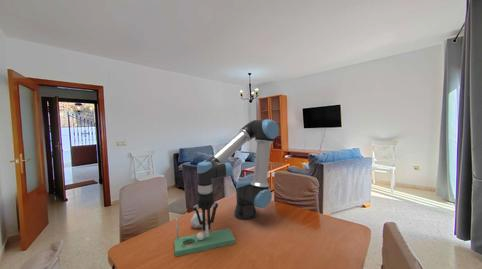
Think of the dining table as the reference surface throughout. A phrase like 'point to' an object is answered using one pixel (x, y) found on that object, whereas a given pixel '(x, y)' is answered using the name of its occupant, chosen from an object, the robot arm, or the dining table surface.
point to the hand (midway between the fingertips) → (206, 235)
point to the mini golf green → (203, 241)
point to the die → (196, 221)
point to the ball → (200, 236)
